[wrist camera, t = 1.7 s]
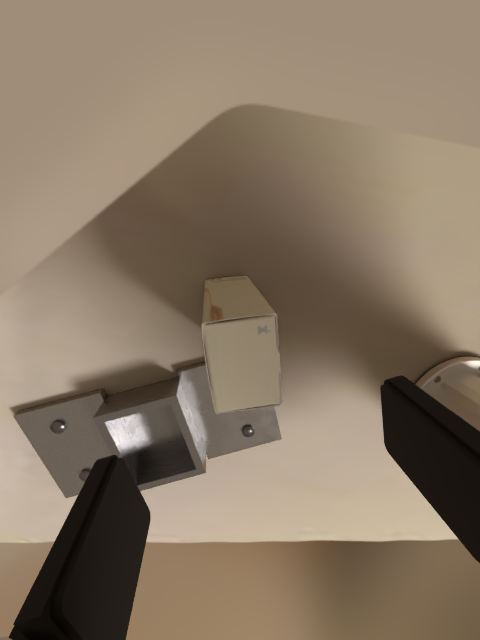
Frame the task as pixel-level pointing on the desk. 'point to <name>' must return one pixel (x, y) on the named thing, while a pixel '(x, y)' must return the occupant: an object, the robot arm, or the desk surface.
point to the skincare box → (240, 346)
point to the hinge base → (143, 431)
